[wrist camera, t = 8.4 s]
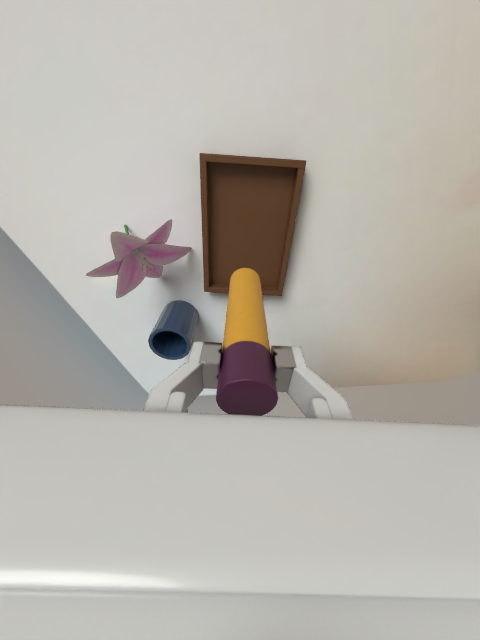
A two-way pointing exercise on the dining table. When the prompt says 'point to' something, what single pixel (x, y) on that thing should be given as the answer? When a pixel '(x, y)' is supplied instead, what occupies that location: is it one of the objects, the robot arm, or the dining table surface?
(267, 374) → the glue stick
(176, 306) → the pen cup
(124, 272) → the lily
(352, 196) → the dining table surface
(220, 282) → the desk tray
